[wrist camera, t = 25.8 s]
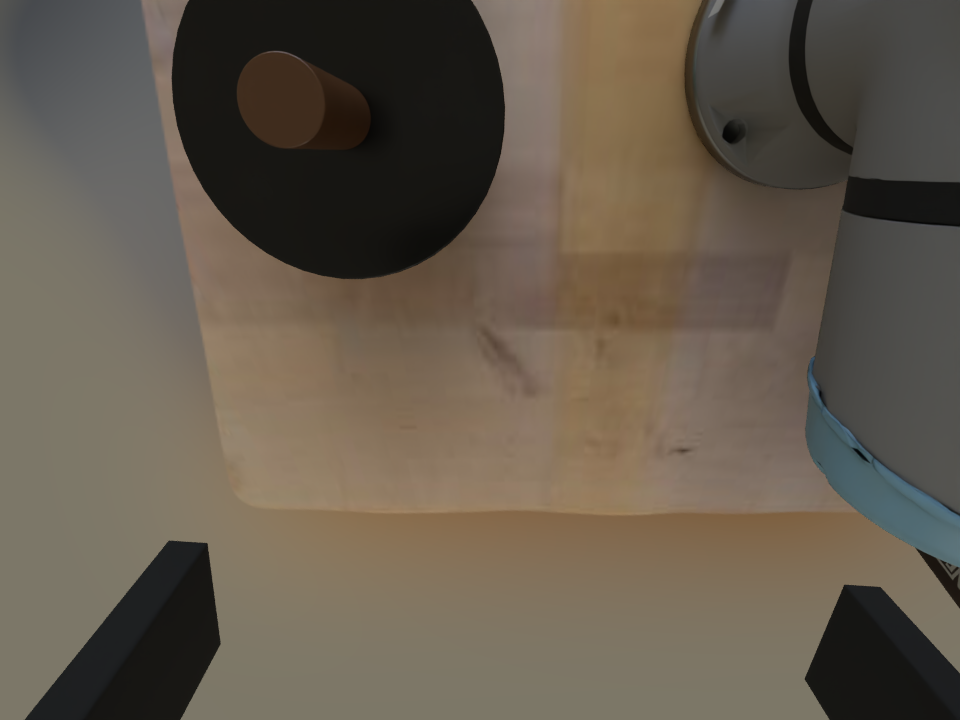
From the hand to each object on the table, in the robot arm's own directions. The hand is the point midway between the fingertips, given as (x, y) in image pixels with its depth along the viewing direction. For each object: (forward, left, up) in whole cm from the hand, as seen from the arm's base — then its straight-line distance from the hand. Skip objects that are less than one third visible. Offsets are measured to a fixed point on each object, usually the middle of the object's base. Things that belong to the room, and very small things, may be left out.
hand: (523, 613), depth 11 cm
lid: (+8, -10, -18) cm, 22 cm away
